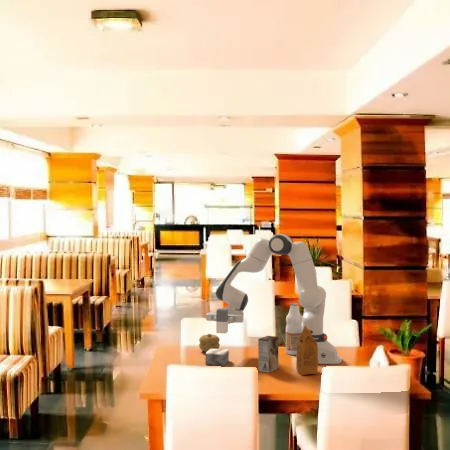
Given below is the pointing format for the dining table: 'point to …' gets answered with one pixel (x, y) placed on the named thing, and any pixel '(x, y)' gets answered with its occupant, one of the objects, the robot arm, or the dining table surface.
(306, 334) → the coffee package
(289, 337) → the fruit juice
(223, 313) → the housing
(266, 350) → the coffee box
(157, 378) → the dining table surface
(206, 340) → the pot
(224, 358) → the stand
